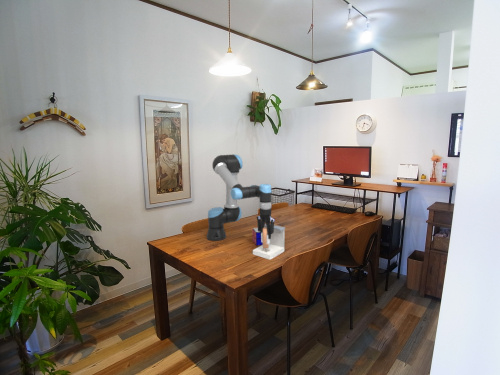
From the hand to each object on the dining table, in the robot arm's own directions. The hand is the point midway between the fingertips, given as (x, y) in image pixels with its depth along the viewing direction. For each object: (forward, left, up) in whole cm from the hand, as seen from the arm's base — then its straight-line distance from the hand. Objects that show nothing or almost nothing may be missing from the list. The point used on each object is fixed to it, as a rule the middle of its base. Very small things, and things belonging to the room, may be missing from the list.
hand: (265, 242), depth 180 cm
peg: (0, 0, -3) cm, 3 cm away
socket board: (0, +4, -8) cm, 9 cm away
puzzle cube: (-16, +16, -9) cm, 24 cm away
